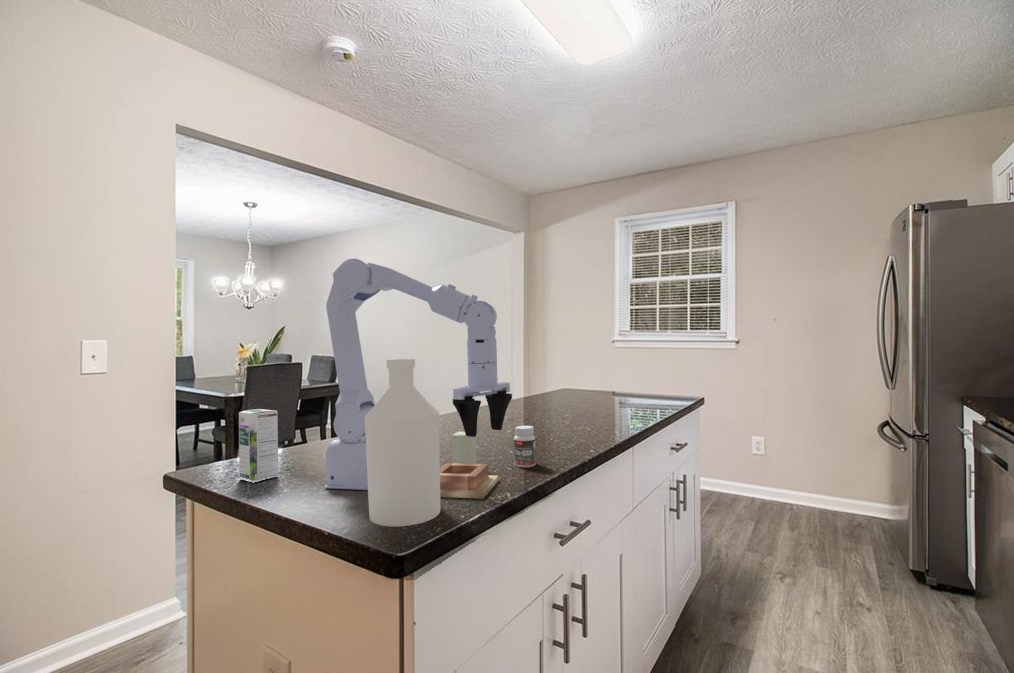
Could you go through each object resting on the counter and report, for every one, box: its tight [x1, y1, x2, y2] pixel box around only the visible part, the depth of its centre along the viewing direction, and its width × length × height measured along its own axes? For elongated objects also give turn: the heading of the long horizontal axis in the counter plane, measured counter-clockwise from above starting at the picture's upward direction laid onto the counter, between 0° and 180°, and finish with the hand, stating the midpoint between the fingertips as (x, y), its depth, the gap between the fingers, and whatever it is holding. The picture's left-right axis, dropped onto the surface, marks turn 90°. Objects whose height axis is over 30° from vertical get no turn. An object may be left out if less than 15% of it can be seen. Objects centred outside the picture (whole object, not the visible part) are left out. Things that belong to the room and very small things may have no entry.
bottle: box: [365, 358, 441, 527], centre depth 80 cm, size 12×12×25 cm
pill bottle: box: [513, 425, 537, 468], centre depth 108 cm, size 5×5×8 cm
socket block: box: [440, 462, 500, 500], centre depth 92 cm, size 12×11×4 cm
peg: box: [451, 431, 478, 464], centre depth 105 cm, size 4×4×8 cm
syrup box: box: [238, 408, 279, 481], centre depth 103 cm, size 6×6×14 cm
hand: (484, 432), depth 95 cm, fingers open, 7 cm apart
